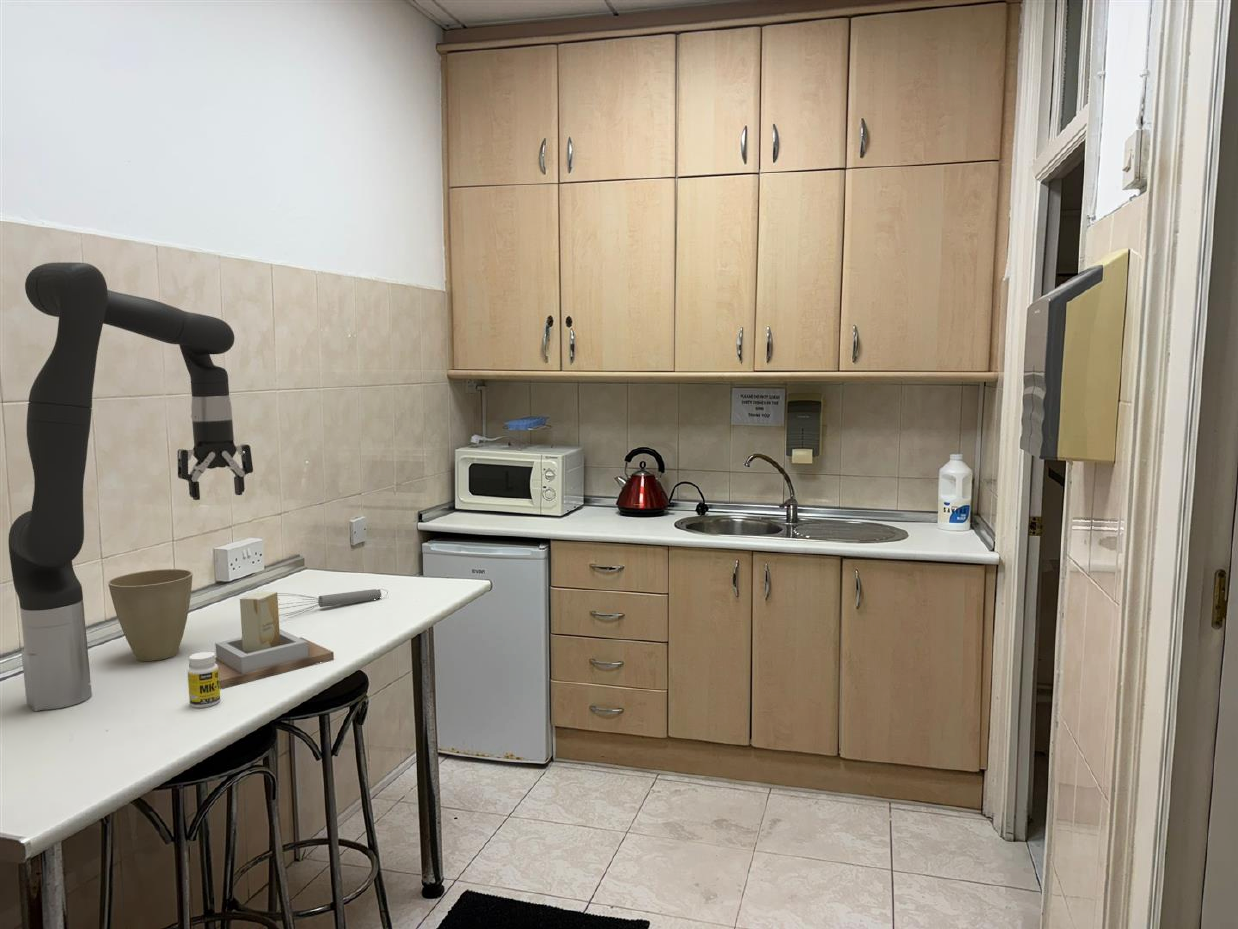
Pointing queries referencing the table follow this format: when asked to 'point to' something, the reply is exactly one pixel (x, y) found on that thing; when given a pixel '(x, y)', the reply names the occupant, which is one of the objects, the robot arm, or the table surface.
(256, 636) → the skincare box
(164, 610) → the plant pot
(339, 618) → the table surface
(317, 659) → the board
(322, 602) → the kitchen whisk
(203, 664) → the supplement bottle
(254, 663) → the collar
